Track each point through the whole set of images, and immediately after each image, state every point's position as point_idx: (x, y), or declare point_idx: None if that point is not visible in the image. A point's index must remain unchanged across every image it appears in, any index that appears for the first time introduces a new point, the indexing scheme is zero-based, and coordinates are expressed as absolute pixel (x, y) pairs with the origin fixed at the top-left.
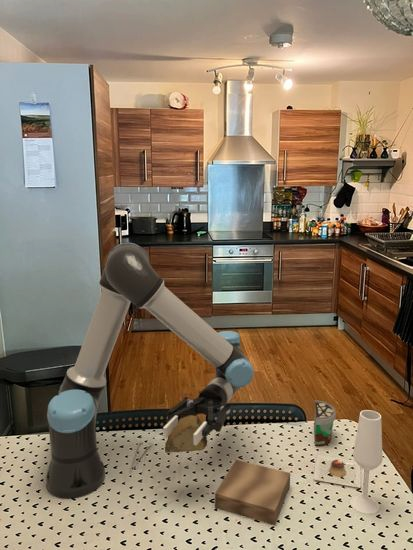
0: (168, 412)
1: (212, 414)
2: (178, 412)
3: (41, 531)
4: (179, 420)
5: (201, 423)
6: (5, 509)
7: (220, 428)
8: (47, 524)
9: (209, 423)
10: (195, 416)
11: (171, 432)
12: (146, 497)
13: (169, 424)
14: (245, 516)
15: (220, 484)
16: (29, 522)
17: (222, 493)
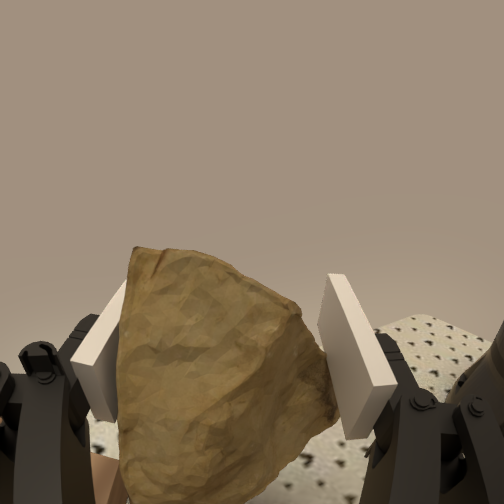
0: (471, 396)
1: (15, 488)
2: (418, 440)
3: (414, 335)
4: (296, 308)
5: (117, 355)
6: (481, 338)
7: (2, 420)
8: (421, 344)
9: (55, 365)
10: (152, 250)
11: (321, 350)
12: (335, 464)
13: (338, 297)
14: None
15: (108, 498)
16: (441, 338)
17: (97, 461)
